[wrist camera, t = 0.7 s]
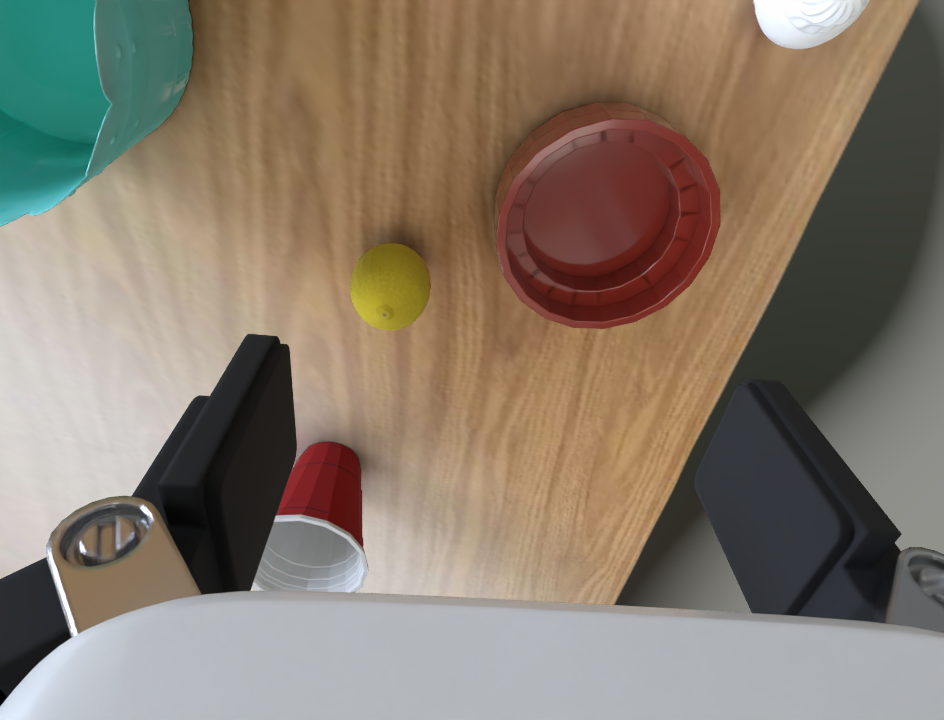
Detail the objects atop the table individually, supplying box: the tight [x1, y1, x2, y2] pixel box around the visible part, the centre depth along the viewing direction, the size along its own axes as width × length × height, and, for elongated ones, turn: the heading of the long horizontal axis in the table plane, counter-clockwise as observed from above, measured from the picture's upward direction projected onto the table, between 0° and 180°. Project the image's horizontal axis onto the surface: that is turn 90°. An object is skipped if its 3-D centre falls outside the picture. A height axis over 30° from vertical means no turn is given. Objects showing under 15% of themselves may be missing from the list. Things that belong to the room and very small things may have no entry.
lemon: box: [350, 243, 431, 331], centre depth 40 cm, size 6×6×8 cm
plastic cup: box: [253, 442, 369, 593], centre depth 51 cm, size 11×11×12 cm
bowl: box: [494, 102, 720, 329], centre depth 39 cm, size 14×14×5 cm
